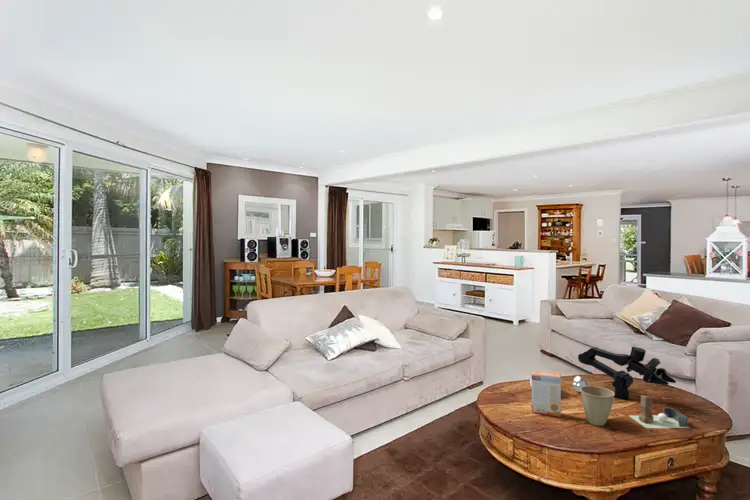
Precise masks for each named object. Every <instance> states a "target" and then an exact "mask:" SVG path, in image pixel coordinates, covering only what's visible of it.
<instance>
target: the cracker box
mask: <svg viewBox="0 0 750 500" xmlns="http://www.w3.org/2000/svg"><path fill="white" fill-rule="evenodd" d="M561 377H562V376H561V374H559V373H552V372H544V371H538V370H537V371H534V370H533V371H532V373H531V378H532V387H531V413H532V414H539V415H545V416H551V417H558V418H560V417H561V415H562V413H561V412H562V411H561V410H562V409H561V408H562V407H561V406H562V405H561V404H562V403H561V400H562V399H561V398H562V394H561V391H562V390H561V388H562V386H561V385H562V384H561Z"/></svg>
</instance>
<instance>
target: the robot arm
mask: <svg viewBox="0 0 750 500" xmlns="http://www.w3.org/2000/svg"><path fill="white" fill-rule="evenodd" d="M646 353H647V351H646V349H645V348H641V347H638V346H637V347H636V346H631V349H630V354H627V353H626V354H625V353H614V352H612V351H608V350H604V349H601V348H599V347H591V348H589V349H587V350H586V351H584V352H583V353H579V354H578V357H577V359H578V362H579V363H580V364H583V365H586V366H591V367H593V368H594V369H596V370H599V371H600V372H602V373H603V374H606V375H607V376H609V377H610V378H612V379H613V381H612V387H614V398H616V399H619V400H620V399H621V400H625V401H627V400H628V399H630V389H629V387H631V386H632V385H633V384H634V378H633V376H632V375H631V374H630V372H632V371H634V372H635V373H637V374H638V375H639V376H643V377H642V380H643V382H645V383H646V384H656V385H663V386H665V385H666V386H668V385H669V383H672V384H676V382H677V381H676V380H675V379H674V378H673V377H671V376H670V375H669V374H668V373H667V370H666V368H664V367H659V368H657V367H658V366H659V365H661V363H662V362H661V361H660V359H658V358H657V357H654V358H651V360H649V361H648V362H647V364H645V363H642V362H644V360H645V356H646ZM596 356H597V357H601V358H603V359H606V360H609V361H612V362H613V363H614V364H616V365H618V366H620V367H624V366H626V367H625V369H626V371H625V370H619V371H617V370H616V369H615V368H612V367H610V366H608V364H607V365H606V364H605V363H603V362H602V361H599V360H598V359H596Z"/></svg>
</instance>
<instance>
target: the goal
mask: <svg viewBox="0 0 750 500" xmlns="http://www.w3.org/2000/svg"><path fill="white" fill-rule="evenodd" d="M662 413H664V414H665V415H666V416H667V417H671V418H673V419H674V420H676V421H678V422H679V426H680V427H689V417H688V416H686V415H684V414H683V413H681V412H679V411H678V410H677V409H674V408H673V407H663V408H662Z"/></svg>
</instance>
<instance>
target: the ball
mask: <svg viewBox="0 0 750 500" xmlns="http://www.w3.org/2000/svg"><path fill="white" fill-rule="evenodd" d="M657 415H658V419H659V420H660V421H662V422H665V421H667V419H668V418H667V416H666V415H665V414H664V413H663V412H661V413H658V414H657Z"/></svg>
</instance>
